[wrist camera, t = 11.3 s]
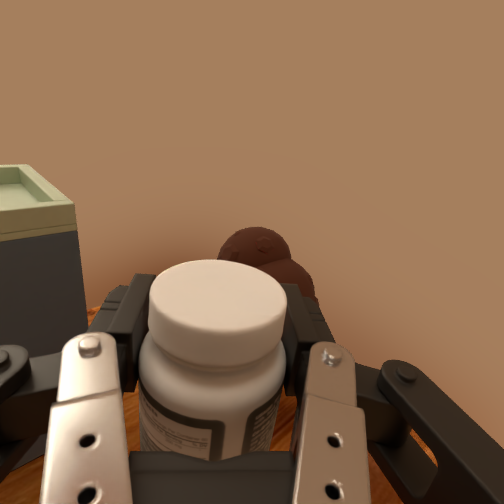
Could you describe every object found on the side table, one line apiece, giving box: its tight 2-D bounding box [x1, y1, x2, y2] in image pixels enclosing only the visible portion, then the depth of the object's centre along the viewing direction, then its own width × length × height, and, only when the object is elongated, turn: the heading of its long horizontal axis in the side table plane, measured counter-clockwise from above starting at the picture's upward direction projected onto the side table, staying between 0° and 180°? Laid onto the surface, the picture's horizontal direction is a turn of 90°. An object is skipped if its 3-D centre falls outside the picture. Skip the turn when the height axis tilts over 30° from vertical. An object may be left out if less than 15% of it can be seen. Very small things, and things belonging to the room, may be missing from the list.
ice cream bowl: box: [217, 227, 319, 306], centre depth 27 cm, size 11×11×15 cm
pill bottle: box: [138, 260, 287, 461], centre depth 11 cm, size 5×5×8 cm
